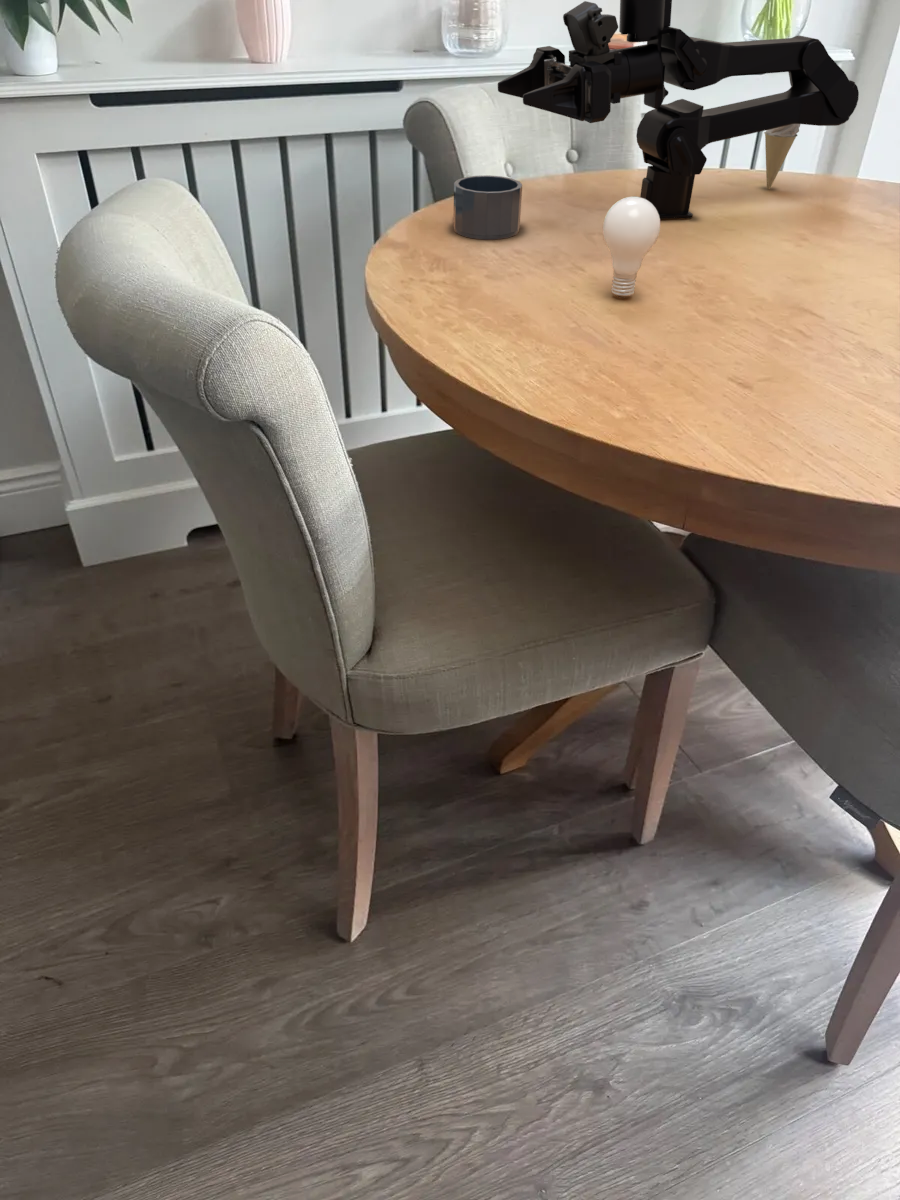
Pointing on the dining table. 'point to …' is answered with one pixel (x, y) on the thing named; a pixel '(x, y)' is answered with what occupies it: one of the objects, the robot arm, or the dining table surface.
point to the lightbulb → (629, 239)
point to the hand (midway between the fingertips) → (510, 93)
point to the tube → (487, 207)
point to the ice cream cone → (778, 149)
